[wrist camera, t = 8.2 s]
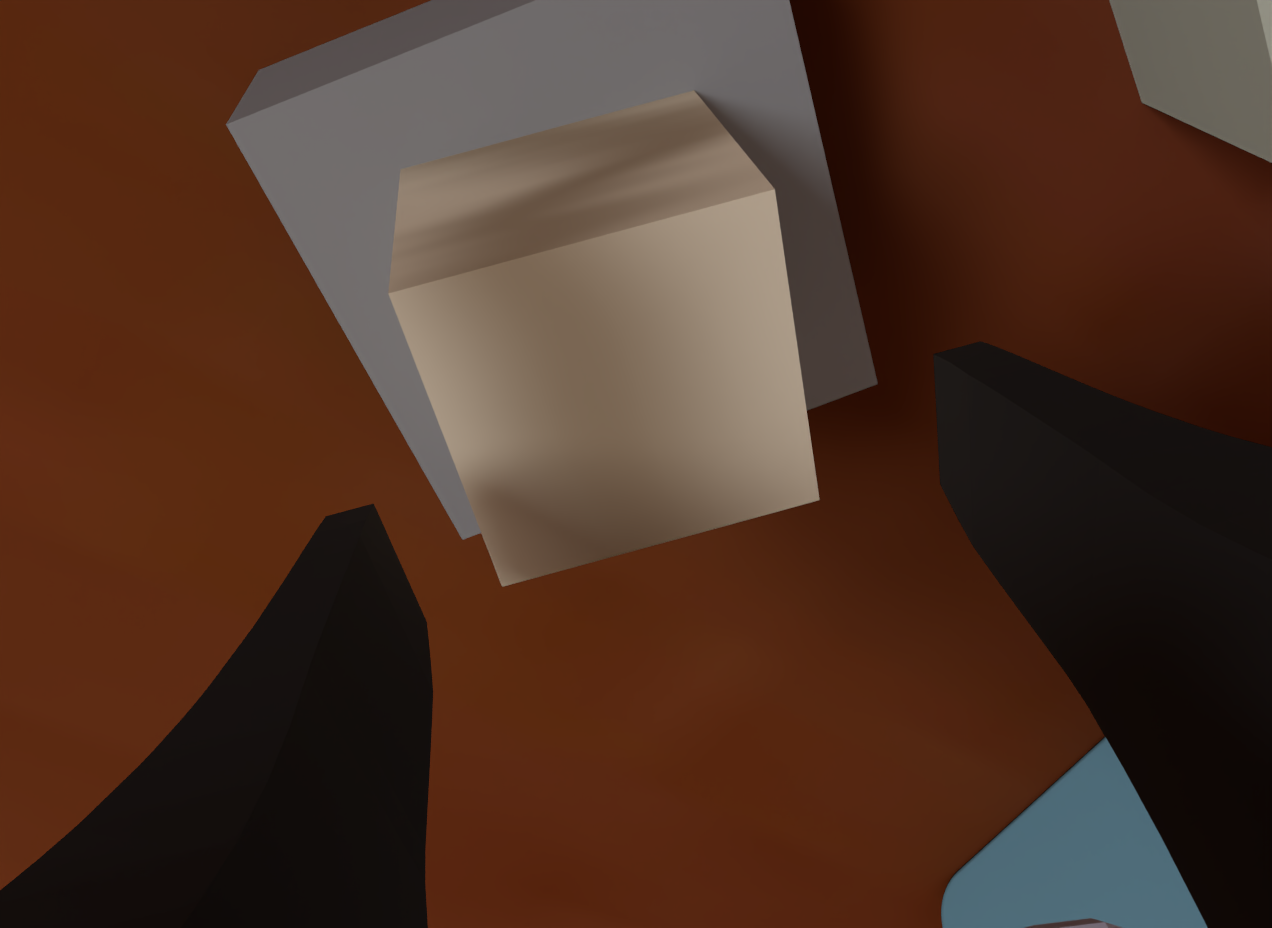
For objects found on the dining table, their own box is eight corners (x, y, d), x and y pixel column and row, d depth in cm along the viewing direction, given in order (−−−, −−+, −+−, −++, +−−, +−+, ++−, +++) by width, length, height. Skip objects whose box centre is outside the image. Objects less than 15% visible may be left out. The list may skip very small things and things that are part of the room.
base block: (710, -116, 19) (767, -93, 16) (817, 301, 24) (877, 383, 21) (261, 66, 20) (226, 124, 16) (458, 437, 25) (462, 539, 21)
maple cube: (694, 89, 17) (775, 189, 13) (741, 350, 20) (819, 500, 16) (400, 169, 17) (388, 293, 13) (489, 419, 20) (502, 586, 16)
